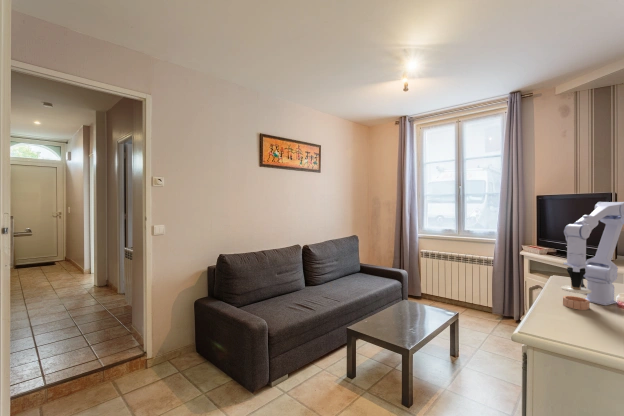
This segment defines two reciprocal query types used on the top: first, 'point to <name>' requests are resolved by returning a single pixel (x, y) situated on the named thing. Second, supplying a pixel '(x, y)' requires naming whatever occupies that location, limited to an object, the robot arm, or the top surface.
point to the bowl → (576, 302)
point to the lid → (576, 289)
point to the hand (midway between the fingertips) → (575, 286)
